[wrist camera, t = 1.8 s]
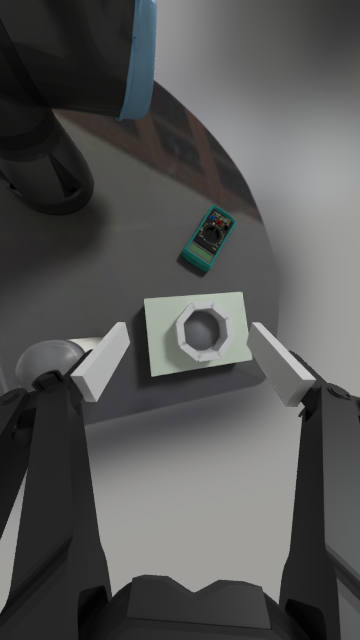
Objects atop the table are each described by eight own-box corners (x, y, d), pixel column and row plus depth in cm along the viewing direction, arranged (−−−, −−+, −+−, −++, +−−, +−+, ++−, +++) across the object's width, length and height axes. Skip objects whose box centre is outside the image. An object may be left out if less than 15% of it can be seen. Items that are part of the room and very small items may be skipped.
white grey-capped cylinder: (79, 338, 26) (13, 344, 14) (113, 334, 27) (79, 337, 15) (81, 371, 25) (15, 405, 14) (116, 366, 26) (82, 393, 15)
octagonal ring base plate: (145, 303, 28) (142, 294, 22) (231, 296, 32) (252, 287, 25) (152, 370, 27) (150, 383, 21) (240, 356, 31) (263, 363, 24)
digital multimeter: (233, 228, 34) (240, 218, 31) (206, 274, 32) (210, 268, 29) (209, 211, 34) (214, 199, 31) (179, 257, 31) (181, 249, 28)
